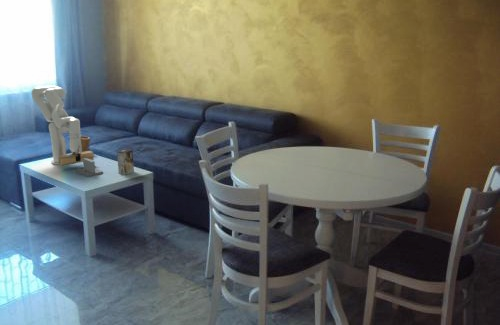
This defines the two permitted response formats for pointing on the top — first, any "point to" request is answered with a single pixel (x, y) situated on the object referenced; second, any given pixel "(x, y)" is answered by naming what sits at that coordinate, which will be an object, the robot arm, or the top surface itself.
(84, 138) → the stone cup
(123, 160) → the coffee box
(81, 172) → the ridge stand
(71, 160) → the oak batten
